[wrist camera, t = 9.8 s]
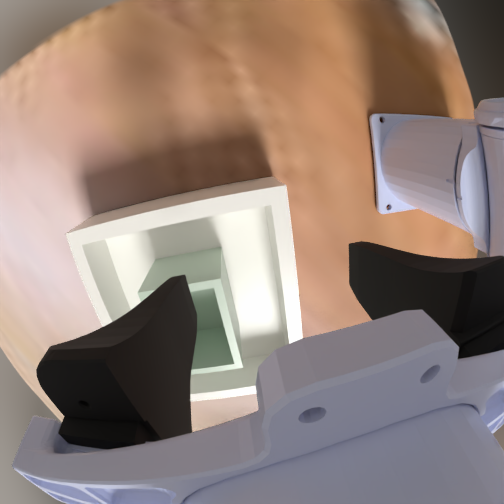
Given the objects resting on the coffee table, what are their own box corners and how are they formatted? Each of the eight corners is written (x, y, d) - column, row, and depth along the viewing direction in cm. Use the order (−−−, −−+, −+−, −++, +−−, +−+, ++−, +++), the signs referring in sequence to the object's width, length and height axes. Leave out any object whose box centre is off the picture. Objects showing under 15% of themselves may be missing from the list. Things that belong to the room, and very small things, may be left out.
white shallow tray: (273, 176, 20) (286, 185, 15) (294, 349, 26) (305, 383, 21) (93, 215, 19) (65, 233, 15) (154, 370, 25) (146, 403, 21)
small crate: (221, 246, 20) (220, 278, 15) (239, 325, 23) (243, 367, 18) (155, 259, 20) (137, 292, 15) (180, 334, 23) (173, 376, 18)
